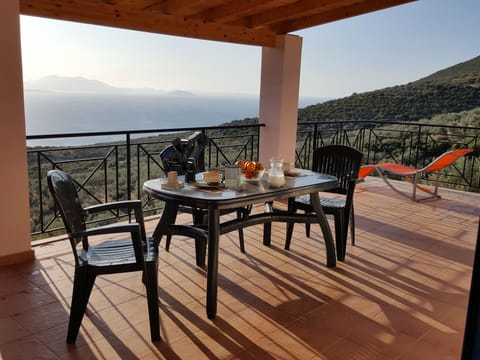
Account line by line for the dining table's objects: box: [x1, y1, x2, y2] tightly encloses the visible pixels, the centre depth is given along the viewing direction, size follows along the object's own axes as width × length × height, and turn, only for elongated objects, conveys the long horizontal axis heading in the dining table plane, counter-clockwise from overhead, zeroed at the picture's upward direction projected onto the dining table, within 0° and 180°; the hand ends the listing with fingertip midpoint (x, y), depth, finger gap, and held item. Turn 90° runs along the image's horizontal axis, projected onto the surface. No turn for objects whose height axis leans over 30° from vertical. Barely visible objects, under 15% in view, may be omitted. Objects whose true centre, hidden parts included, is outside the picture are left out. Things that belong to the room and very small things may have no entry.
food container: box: [207, 166, 225, 185], centre depth 301 cm, size 12×6×10 cm, turn 71°
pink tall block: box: [167, 171, 178, 184], centre depth 282 cm, size 5×4×10 cm
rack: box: [160, 180, 185, 191], centre depth 283 cm, size 12×10×3 cm
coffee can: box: [224, 163, 242, 189], centre depth 289 cm, size 10×10×14 cm
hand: (171, 174), depth 280 cm, fingers open, 9 cm apart
